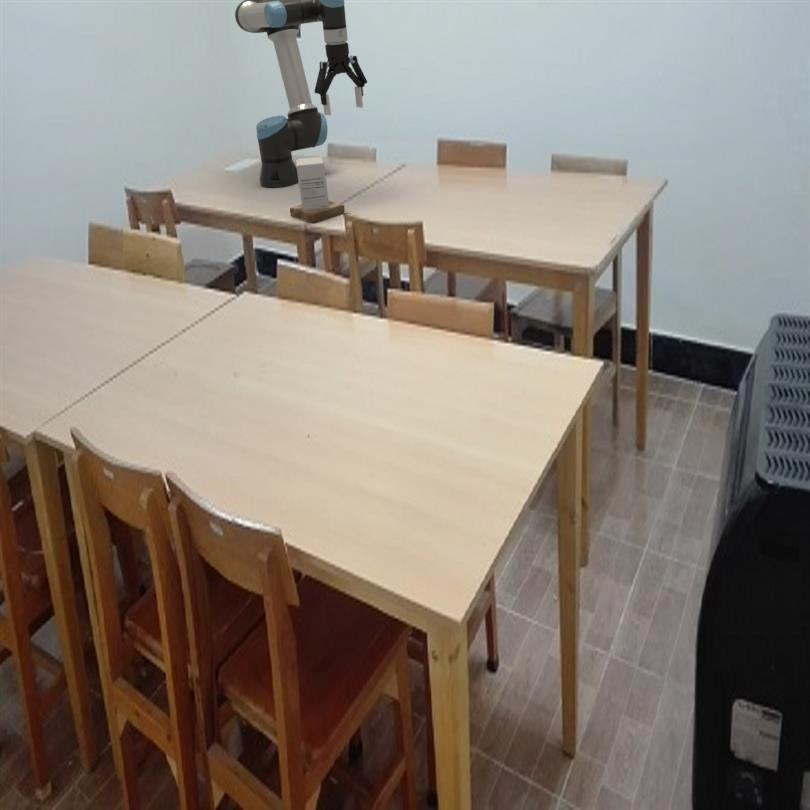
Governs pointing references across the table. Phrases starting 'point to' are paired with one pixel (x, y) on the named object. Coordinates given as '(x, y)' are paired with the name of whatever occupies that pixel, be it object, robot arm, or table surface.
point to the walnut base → (317, 212)
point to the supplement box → (312, 183)
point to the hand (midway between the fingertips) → (343, 111)
